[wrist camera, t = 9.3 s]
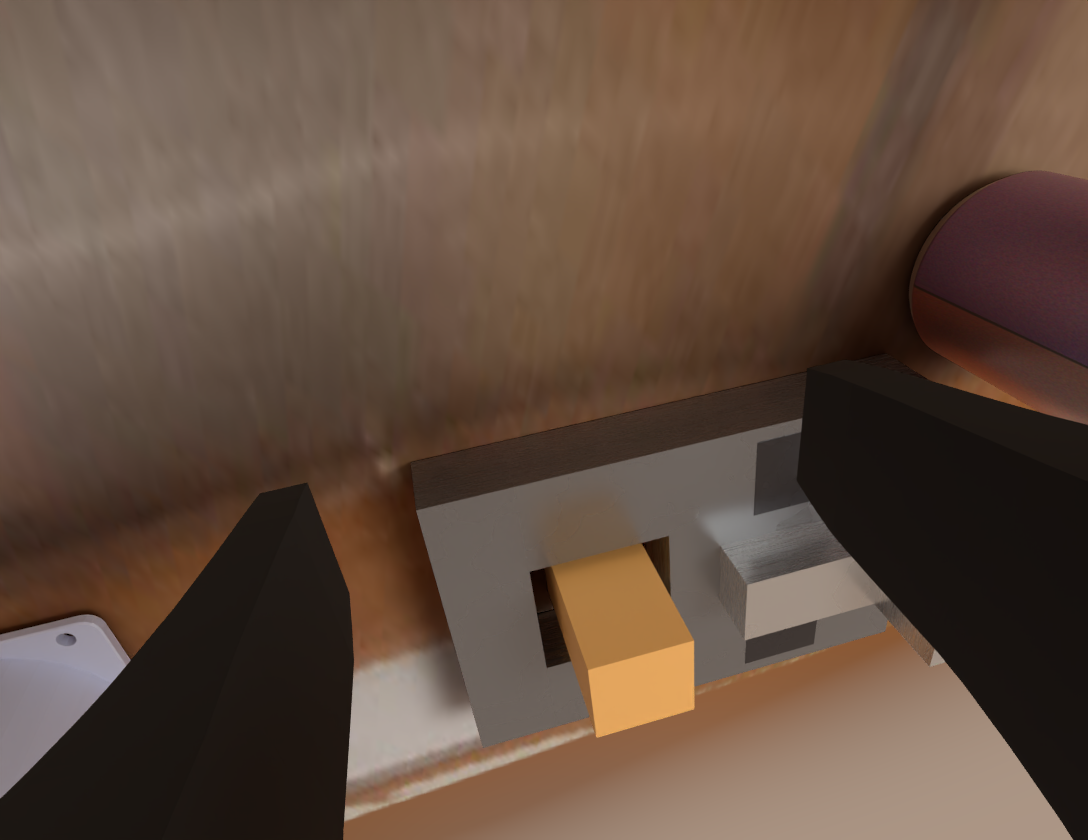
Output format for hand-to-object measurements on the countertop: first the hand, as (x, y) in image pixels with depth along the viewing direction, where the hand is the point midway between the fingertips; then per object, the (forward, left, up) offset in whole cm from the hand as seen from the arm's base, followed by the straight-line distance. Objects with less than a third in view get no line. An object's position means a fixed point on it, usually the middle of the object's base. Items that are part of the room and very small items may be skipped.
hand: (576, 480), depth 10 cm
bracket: (+9, -11, -7) cm, 16 cm away
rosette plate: (+5, -11, -10) cm, 16 cm away
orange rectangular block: (+2, -11, -10) cm, 15 cm away
